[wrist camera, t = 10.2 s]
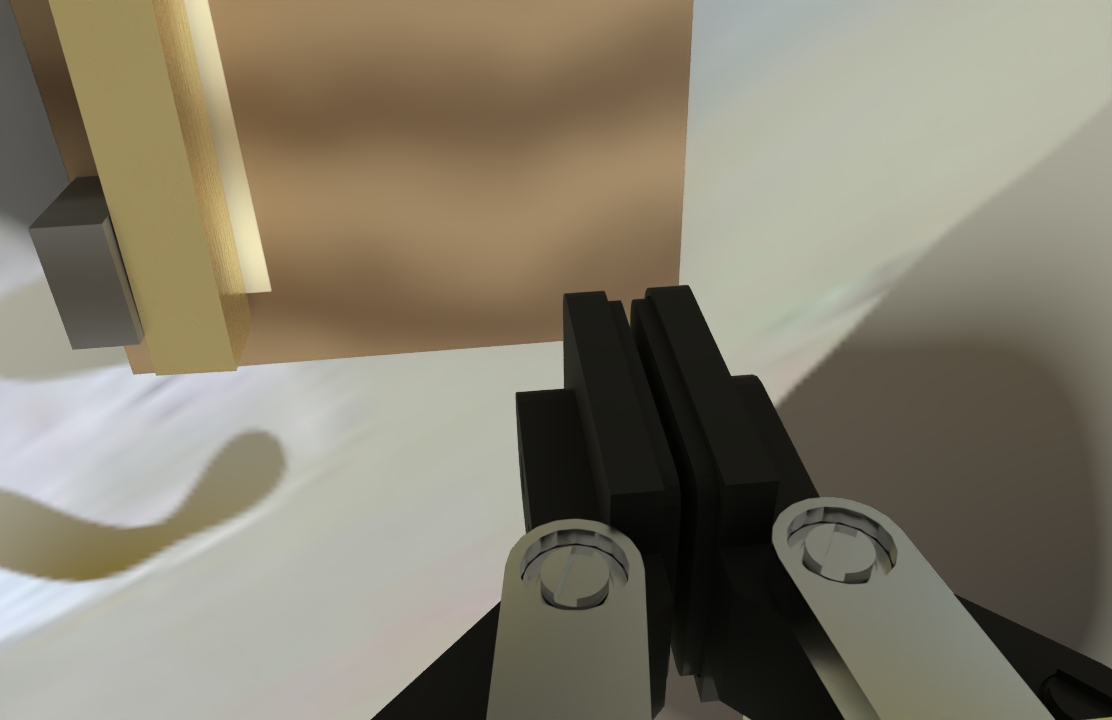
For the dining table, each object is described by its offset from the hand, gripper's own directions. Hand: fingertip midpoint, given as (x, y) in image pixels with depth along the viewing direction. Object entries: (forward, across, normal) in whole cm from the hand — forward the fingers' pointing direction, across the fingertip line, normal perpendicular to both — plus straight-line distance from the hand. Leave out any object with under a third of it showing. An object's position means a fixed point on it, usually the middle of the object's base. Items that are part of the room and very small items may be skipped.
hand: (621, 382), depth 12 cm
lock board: (+21, +5, +2) cm, 21 cm away
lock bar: (+18, +11, +1) cm, 21 cm away
